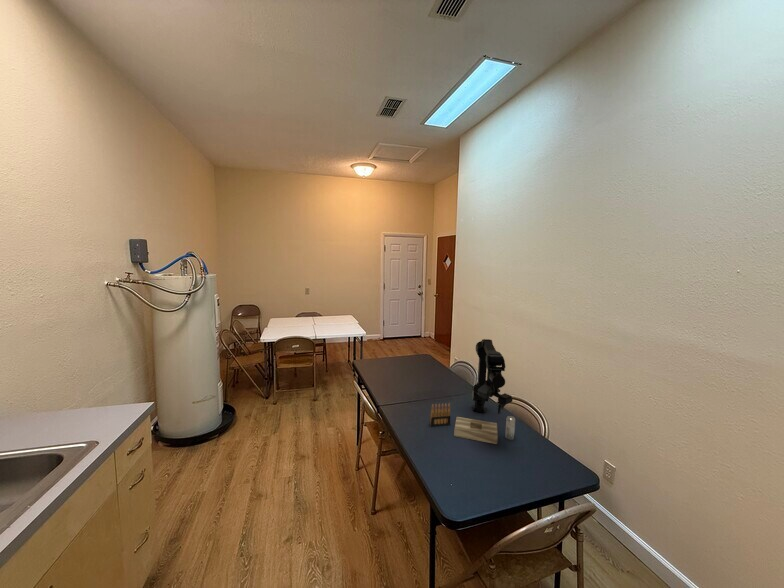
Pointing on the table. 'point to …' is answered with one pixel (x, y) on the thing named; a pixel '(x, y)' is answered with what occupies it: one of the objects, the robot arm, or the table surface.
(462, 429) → the hole block
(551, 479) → the table surface
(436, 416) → the ammunition clip
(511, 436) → the metal peg
